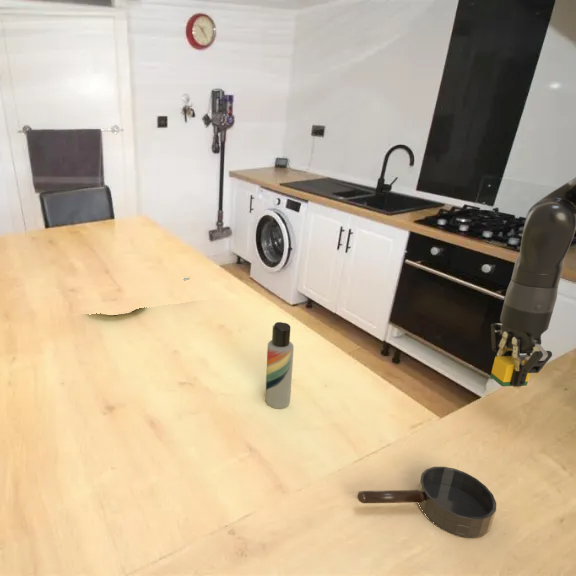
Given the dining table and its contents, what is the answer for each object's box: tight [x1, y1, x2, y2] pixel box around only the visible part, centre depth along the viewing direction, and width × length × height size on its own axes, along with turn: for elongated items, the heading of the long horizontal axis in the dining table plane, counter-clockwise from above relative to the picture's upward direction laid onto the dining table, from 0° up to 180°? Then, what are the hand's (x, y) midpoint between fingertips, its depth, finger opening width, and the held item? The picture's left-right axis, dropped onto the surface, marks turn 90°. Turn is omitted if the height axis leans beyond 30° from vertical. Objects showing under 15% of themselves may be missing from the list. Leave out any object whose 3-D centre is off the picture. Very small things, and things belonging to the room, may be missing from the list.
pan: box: [417, 466, 497, 539], centre depth 67 cm, size 10×10×4 cm
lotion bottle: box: [264, 321, 295, 410], centre depth 92 cm, size 6×6×20 cm
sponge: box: [490, 355, 531, 387], centre depth 85 cm, size 5×4×5 cm
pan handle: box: [356, 489, 425, 504], centre depth 67 cm, size 11×2×2 cm, turn 90°
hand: (508, 379), depth 85 cm, fingers closed on sponge, 3 cm apart
